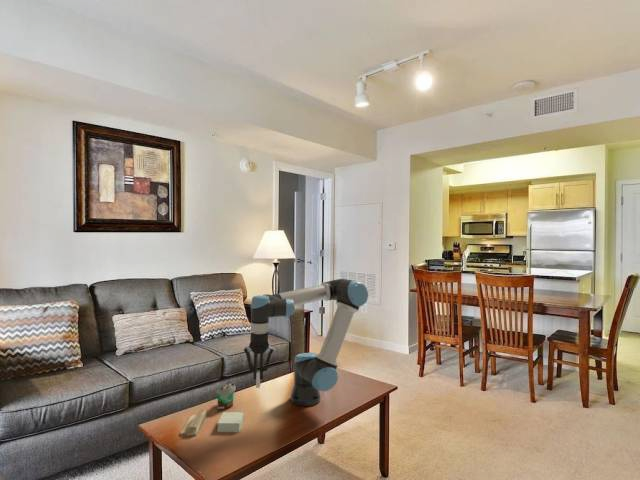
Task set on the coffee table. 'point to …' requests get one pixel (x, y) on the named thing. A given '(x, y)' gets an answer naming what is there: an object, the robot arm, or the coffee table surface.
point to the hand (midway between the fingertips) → (258, 386)
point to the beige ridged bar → (194, 423)
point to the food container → (226, 396)
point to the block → (230, 422)
